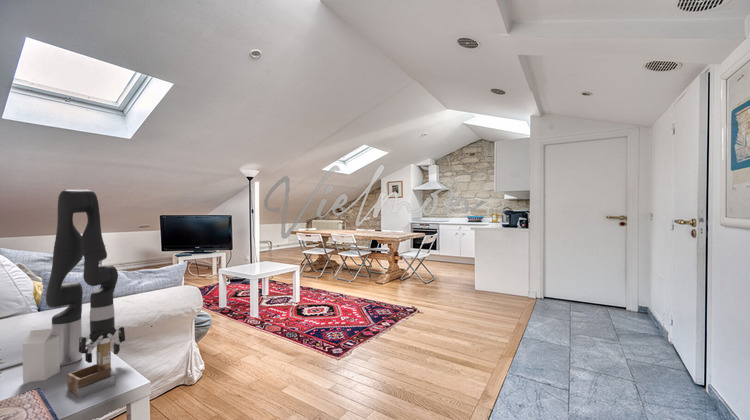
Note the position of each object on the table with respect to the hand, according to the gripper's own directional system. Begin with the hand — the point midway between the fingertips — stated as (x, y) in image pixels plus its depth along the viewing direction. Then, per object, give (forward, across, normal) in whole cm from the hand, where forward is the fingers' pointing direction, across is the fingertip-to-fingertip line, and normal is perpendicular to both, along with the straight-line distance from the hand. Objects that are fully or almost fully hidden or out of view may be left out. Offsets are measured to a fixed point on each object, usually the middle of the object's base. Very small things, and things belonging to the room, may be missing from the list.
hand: (103, 357), depth 130 cm
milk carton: (+6, -14, +14) cm, 21 cm away
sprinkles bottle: (+6, 0, 0) cm, 6 cm away
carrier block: (+5, -9, -12) cm, 15 cm away
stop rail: (+5, -8, -17) cm, 20 cm away
